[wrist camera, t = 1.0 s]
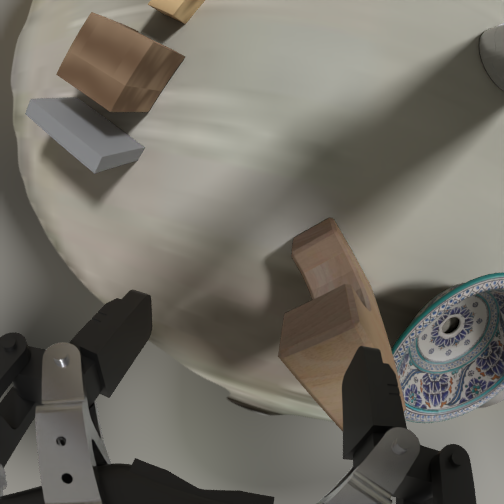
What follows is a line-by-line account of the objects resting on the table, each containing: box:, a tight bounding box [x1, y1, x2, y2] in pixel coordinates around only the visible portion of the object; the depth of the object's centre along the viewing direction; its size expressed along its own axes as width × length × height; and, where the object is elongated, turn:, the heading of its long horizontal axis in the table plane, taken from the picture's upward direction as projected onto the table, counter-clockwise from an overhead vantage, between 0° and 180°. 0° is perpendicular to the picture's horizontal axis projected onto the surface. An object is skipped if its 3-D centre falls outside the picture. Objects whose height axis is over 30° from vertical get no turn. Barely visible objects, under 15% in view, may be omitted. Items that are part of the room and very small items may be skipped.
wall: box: [25, 98, 145, 174], centre depth 29 cm, size 2×14×9 cm, turn 53°
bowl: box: [391, 273, 504, 423], centre depth 32 cm, size 25×25×10 cm
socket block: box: [56, 12, 185, 112], centre depth 26 cm, size 8×10×8 cm
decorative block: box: [278, 218, 406, 431], centre depth 27 cm, size 11×6×20 cm, turn 34°
